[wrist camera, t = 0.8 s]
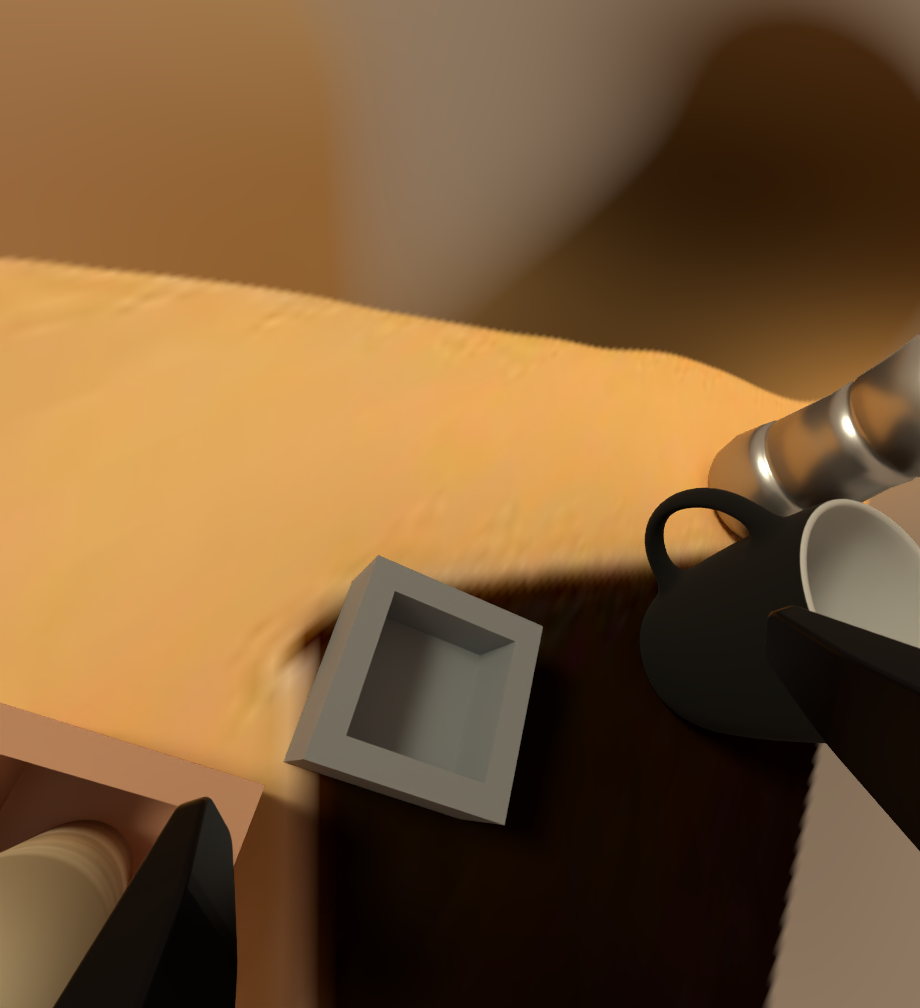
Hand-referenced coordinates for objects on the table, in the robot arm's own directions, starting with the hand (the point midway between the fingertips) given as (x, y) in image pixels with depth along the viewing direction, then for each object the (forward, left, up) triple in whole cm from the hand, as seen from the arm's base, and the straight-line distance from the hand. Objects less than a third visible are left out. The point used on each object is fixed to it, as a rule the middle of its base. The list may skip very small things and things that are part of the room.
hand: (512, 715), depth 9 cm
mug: (+10, -15, -15) cm, 24 cm away
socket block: (+3, -3, -15) cm, 15 cm away
